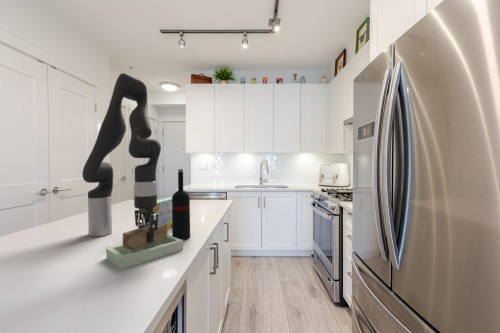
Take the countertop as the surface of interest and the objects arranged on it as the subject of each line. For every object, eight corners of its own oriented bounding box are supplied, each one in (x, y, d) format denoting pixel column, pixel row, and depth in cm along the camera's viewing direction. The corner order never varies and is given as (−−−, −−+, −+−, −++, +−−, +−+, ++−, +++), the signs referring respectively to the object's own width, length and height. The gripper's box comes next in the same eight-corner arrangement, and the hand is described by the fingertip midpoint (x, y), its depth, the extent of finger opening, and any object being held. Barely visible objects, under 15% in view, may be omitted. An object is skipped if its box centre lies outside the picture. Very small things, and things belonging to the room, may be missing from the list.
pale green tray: (106, 258, 82) (106, 248, 82) (165, 242, 99) (165, 233, 99) (121, 269, 74) (120, 258, 74) (183, 249, 90) (183, 240, 90)
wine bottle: (185, 232, 112) (184, 168, 112) (193, 238, 104) (192, 169, 103) (168, 235, 108) (167, 169, 107) (174, 241, 99) (173, 169, 99)
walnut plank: (122, 247, 81) (122, 233, 80) (157, 235, 94) (157, 222, 94) (133, 250, 78) (132, 235, 78) (167, 237, 92) (167, 224, 92)
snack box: (154, 237, 105) (154, 203, 105) (143, 236, 106) (142, 203, 106) (178, 224, 126) (178, 196, 126) (168, 224, 127) (168, 196, 127)
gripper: (165, 194, 84) (166, 242, 84) (146, 191, 93) (147, 234, 94) (144, 197, 78) (144, 248, 79) (126, 193, 88) (127, 238, 88)
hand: (146, 240), depth 86 cm, fingers closed on walnut plank, 5 cm apart
